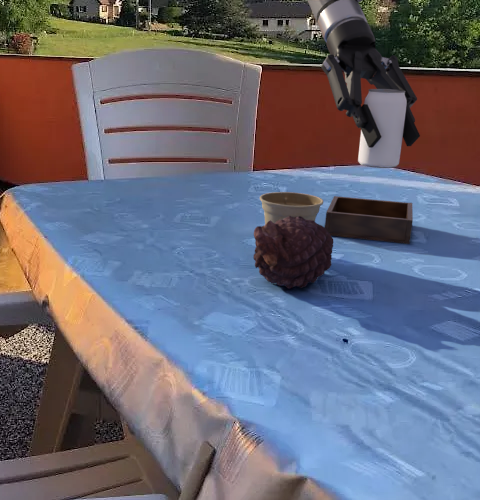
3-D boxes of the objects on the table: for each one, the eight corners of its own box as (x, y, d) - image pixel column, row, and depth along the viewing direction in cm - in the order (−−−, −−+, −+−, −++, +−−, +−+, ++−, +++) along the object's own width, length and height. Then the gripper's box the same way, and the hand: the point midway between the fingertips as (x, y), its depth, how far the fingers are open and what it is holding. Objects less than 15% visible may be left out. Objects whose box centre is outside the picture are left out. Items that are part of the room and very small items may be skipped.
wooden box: (409, 224, 128) (412, 202, 126) (409, 244, 115) (412, 220, 114) (331, 216, 132) (334, 195, 131) (324, 235, 120) (326, 212, 119)
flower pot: (320, 264, 104) (325, 207, 102) (255, 260, 106) (259, 203, 103) (316, 246, 113) (321, 193, 110) (256, 242, 114) (260, 190, 112)
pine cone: (280, 257, 107) (323, 207, 103) (325, 304, 102) (372, 253, 98) (215, 251, 93) (262, 192, 89) (264, 304, 88) (315, 245, 84)
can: (360, 160, 121) (369, 88, 117) (400, 163, 118) (410, 90, 114) (354, 166, 115) (362, 90, 111) (396, 169, 112) (405, 92, 109)
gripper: (383, 49, 128) (432, 153, 118) (287, 48, 123) (330, 157, 112) (406, 18, 122) (459, 125, 112) (306, 15, 116) (352, 128, 106)
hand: (394, 141), depth 112 cm, fingers closed on can, 6 cm apart
